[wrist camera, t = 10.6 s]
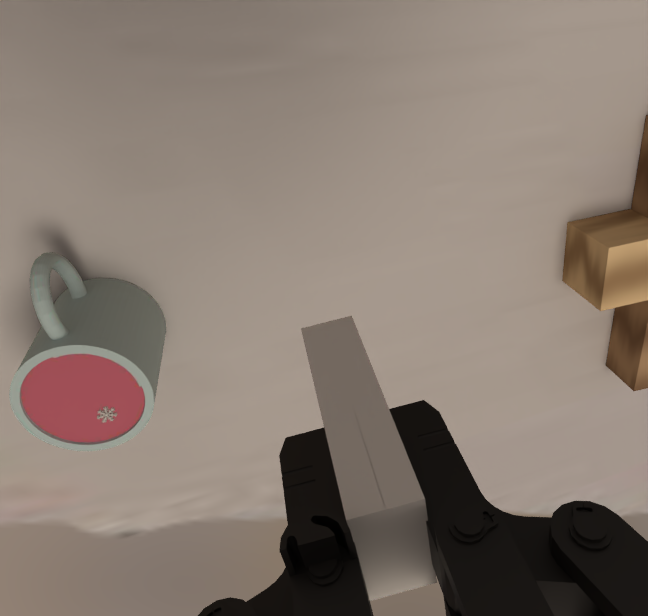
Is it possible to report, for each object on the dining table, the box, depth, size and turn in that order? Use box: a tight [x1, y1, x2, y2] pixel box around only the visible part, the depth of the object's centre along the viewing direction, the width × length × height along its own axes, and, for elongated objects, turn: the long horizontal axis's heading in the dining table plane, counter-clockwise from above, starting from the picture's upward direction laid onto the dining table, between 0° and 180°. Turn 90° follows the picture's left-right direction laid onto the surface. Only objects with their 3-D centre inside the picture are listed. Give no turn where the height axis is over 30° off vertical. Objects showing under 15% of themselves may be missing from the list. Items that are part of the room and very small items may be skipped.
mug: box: [9, 252, 166, 451], centre depth 40 cm, size 14×9×10 cm
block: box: [562, 209, 648, 311], centre depth 47 cm, size 6×6×6 cm
